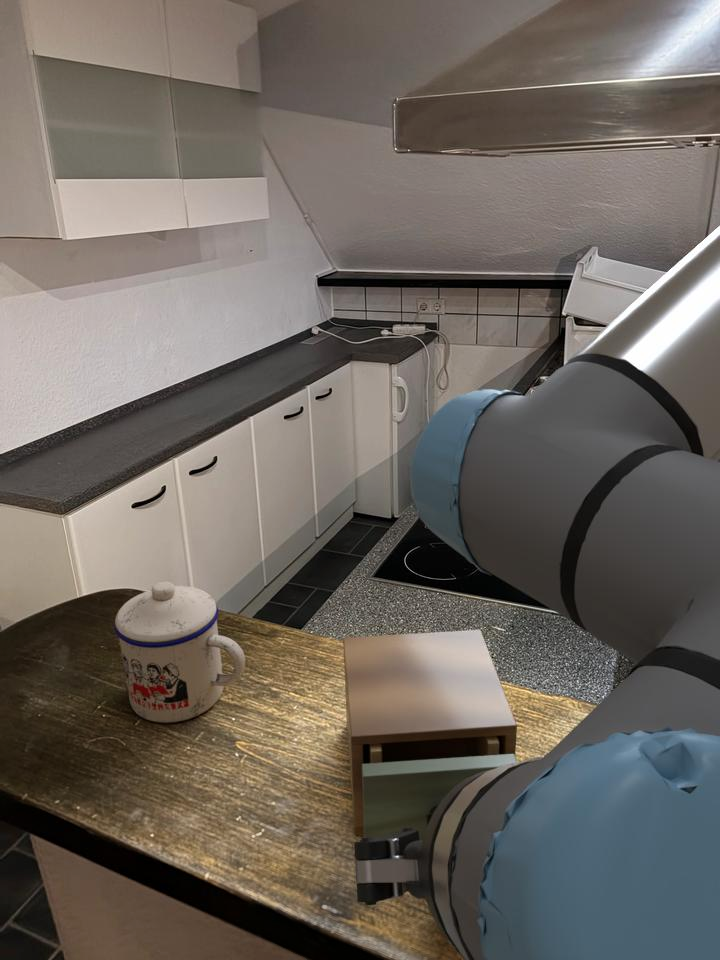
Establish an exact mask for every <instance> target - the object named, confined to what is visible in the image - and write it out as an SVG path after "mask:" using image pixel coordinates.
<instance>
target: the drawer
mask: <svg viewBox="0 0 720 960" xmlns="http://www.w3.org/2000/svg"><path fill="white" fill-rule="evenodd" d="M364 746H365V756H366V764H362V792H363V822H364V835H363V838H366V837H372V839H376V838H379V837H382V836H385V835H389V834H392V833H395V832H399V831H402V830H403V828H412V829H414V830H419V839H423V836H424V835H425V832H426V829H427V816H426V814H433V813H434V811H435V810H436V808H437V807H438V805H439V804H440V802H441V801H442V800H443V798H444V797H445V796H446V795H447V794H448V793H449V792H450V791H451V790H452V789H453V788H454V787H455V786H457V785H458V784H459V783H461V782H462V781H464V780H465V779H467V778H469V777H471V776H473V775H476V774H478V773H481V772H484V771H488V770H492V769H496V768H498V767H501V766H503V765H506V764H511V763H515V762H518V761H517V757H516V754H515V755H514V754H502V755H499V741H498V738H497V736H483V737H468V738H453V739H437V740H422V741H407V742H392V743H377V744H364Z"/></svg>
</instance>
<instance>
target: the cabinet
mask: <svg viewBox="0 0 720 960" xmlns="http://www.w3.org/2000/svg"><path fill="white" fill-rule="evenodd" d="M342 641H343V643H342V644H343V664H344V665H343V667H344V690H345V691H344V692H345V715H346V716H345V717H346V718H345V719H346V732H347V733H346V735H347V747H348V762H349V774H350V775H349V776H350V791H351V803H352V816H353V817H352V818H353V829H354V836H356V837H357V836H364V822H363V792H362V764H366V756H365V746H364V744H377V743H392V742H407V741H422V740H437V739H453V738H468V737H483V736H497V738H498V741H499V755H502V754H514V755H515V756H516V751H517V733H518V724H517V722H516V718H515V716H514V714H513V710H512V709H511V705H510V703H509V701H508V698H507V695H506V693H505V690H504V688H503V684H502V682H501V679H500V677H499V674H498V671H497V669H496V666H495V664H494V661H493V658H492V656H491V654H490V651H489V649H488V648H489V647H488V645H487V642H486V639H485V638H484V635H483V632H482V630H481V629H467V630H452V631H451V630H449V631H434V632H433V631H431V632H417V633H401V634H399V633H398V634H383V635H365V636H350V637H343V639H342Z"/></svg>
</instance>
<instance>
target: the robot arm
mask: <svg viewBox="0 0 720 960" xmlns="http://www.w3.org/2000/svg"><path fill="white" fill-rule="evenodd" d="M719 460H720V225H719V226H718V227H717V228H716V229H715V230H714V231H712V232H711V233H710V234H709V235H708V236H706V238H705V239H704V240H703V241H701V242H700V243H699V244H697V246H696V247H695V248H693V249H692V250H691V251H690V252H689V253H688V254H687V255H685V256H684V257H683V258H682V259H681V260H679V261H678V262H677V263H676V264H675V265H674V266H673V267H672V268H671V269H669V270H668V271H667V272H666V273H665V274H664V275H662V276H661V277H660V278H659V279H658V280H657V281H656V282H655V283H654V284H653V285H652V286H650V287H649V288H648V289H647V290H646V291H644V292H643V293H642V294H641V295H640V296H639V297H638V298H637V299H635V301H633V302H632V303H631V304H630V305H629V306H628V307H627V308H625V310H623V311H622V312H621V313H620V314H619V315H617V317H615V318H614V319H613V320H612V321H611V322H609V324H608V325H606V326H605V327H604V328H602V330H601V331H600V332H598V333H597V334H596V335H595V336H594V337H593V338H591V340H589V341H588V342H586V344H585V345H583V346H582V347H581V348H580V349H579V350H578V351H577V352H576V353H575V354H573V355H572V356H571V357H570V358H568V359H567V362H566V363H565V364H564V365H563V366H561V367H559V368H558V369H556V370H555V371H554V372H553V373H552V374H551V375H550V376H549V377H547V378H546V379H545V380H544V381H543V382H542V383H541V384H540V385H539V386H537V387H536V388H535V389H534V390H533V391H531V393H529V394H528V395H525V396H524V395H523V392H518V391H515V390H508V389H503V390H498V389H492V388H490V389H489V388H486V389H476V390H473V391H469V392H466V393H464V394H459V395H457V396H455V397H453V398H452V399H450V400H449V401H447V402H446V403H445V404H443V405H442V406H441V407H440V408H439V409H438V410H437V411H436V412H435V413H434V414H433V416H432V417H431V418H430V419H429V420H428V422H427V424H426V425H425V426H424V429H423V431H422V433H421V434H420V436H419V438H418V440H417V443H416V444H415V447H414V450H413V454H412V458H411V463H410V471H409V472H410V474H409V480H410V482H409V486H410V494H411V498H412V502H413V505H414V506H415V508H416V510H417V514H418V515H417V517H418V519H419V520H421V521H422V523H423V524H424V525H425V526H426V527H427V529H428V530H429V531H431V532H432V534H434V535H435V536H437V537H438V539H440V540H441V541H443V542H444V543H445V544H447V545H448V546H449V547H451V548H452V549H453V550H455V551H456V552H457V553H458V554H460V555H461V556H462V557H464V558H465V559H466V560H467V562H469V563H470V564H473V566H474V567H476V569H477V570H478V571H480V573H483V574H486V575H489V576H494V577H496V578H498V579H500V580H501V581H503V582H505V583H506V584H508V585H510V586H511V587H513V588H515V589H516V590H518V591H520V592H522V593H523V594H525V595H527V596H529V597H530V598H532V599H533V600H535V601H537V602H538V603H540V604H542V605H543V606H545V607H546V608H548V609H550V610H552V611H554V612H555V613H557V614H559V615H561V616H562V617H563V618H566V619H567V620H569V621H570V622H572V623H574V624H575V625H576V626H577V627H579V628H580V629H582V630H583V631H585V632H586V633H587V634H589V635H590V636H591V637H593V638H595V639H597V640H598V641H600V642H602V643H603V644H605V645H606V646H608V647H610V648H611V649H612V650H614V651H616V652H617V653H618V654H621V655H622V656H623V657H625V658H627V659H629V660H630V661H632V662H633V663H635V665H634V666H633V667H632V668H631V669H630V671H629V673H628V674H627V676H626V678H625V679H624V680H623V681H621V682H620V683H619V684H618V685H617V686H616V687H615V688H614V689H613V690H611V692H610V693H609V694H607V696H606V697H604V699H602V701H600V702H599V703H598V704H597V705H596V707H594V708H593V709H592V710H591V711H590V712H589V713H588V714H587V715H586V716H585V717H584V718H583V719H582V720H581V721H579V723H578V724H576V726H575V727H574V728H573V729H572V730H570V731H569V733H568V734H566V735H565V736H564V737H563V738H562V739H561V741H559V742H558V743H557V744H556V745H555V746H554V747H552V748H551V750H549V751H548V752H547V753H546V754H545V755H544V756H540V757H533V758H529V759H525V760H519V761H517V762H515V763H511V764H506V765H503V766H501V767H498V768H496V769H492V770H488V771H484V772H481V773H478V774H476V775H473V776H471V777H469V778H467V779H465V780H464V781H462V782H461V783H459V784H458V785H457V786H455V787H454V788H453V789H452V790H451V791H450V792H449V793H448V794H447V795H446V796H445V797H444V798H443V800H442V801H441V802H440V804H439V805H438V807H437V808H436V810H435V811H434V813H433V814H426V816H427V829H426V832H425V835H424V836H423V839H419V830H414V829H412V828H403V830H402V831H399V832H395V833H392V834H389V835H385V836H382V837H379V838H376V839H372V837H366V838H364V837H361V838H360V840H358V841H357V840H356V841H353V850H354V868H355V869H354V871H355V884H356V900H357V903H362V904H363V903H364V905H365V906H376V905H377V903H378V902H383V901H387V900H389V899H401V898H403V897H404V894H406V893H407V892H408V893H409V895H411V896H412V897H413V898H416V899H418V900H419V899H420V900H425V902H426V904H427V907H428V910H429V912H430V913H431V917H432V918H433V920H434V921H435V923H436V925H437V926H438V928H439V930H440V931H441V932H442V934H443V935H444V937H445V938H446V939H447V941H448V942H449V943H450V944H451V945H452V946H453V948H454V949H455V950H456V951H457V952H458V954H459V955H460V956H461V957H462V958H463V959H464V960H720V461H719Z"/></svg>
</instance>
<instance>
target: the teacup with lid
mask: <svg viewBox="0 0 720 960" xmlns="http://www.w3.org/2000/svg"><path fill="white" fill-rule="evenodd" d="M218 616H219V608H218V605H217V603H216V600H215V599H214V598H213V597H212V595H210V593H208V592H207V591H204V590H202V589H199V588H197V587H192V586H186V585H175V584H173V583H172V582H170V581H167V580H165V581H159V582H157V583H155V584H154V585H152V587H151V589H149V590H145V591H143V592H142V593H139V594H137V595H136V596H134V597H132V598H130V599H129V600H128V601H126V602H125V603H124V604H123V605H122V606H121V607H120V608H119V610H118V611H117V613H116V615H115V620H114V625H113V627H114V628H113V629H114V632H115V634H116V636H117V637H118V639H119V646H120V652H121V657H122V663H123V668H124V669H123V670H124V675H125V682H126V687H127V693H128V699H129V704H130V705H131V706H130V707H131V709H132V710H133V711H134V712H135V713H136V714H137V716H139V717H141V718H143V719H144V720H148V721H151V722H155V723H164V724H165V723H178V722H183V721H186V720H190V719H192V718H195V717H198V716H199V715H201V714H203V713H205V712H206V711H208V710H209V709H211V708H213V706H214V705H215V704H216V703H217V702H218V701H219V699H220V698H221V696H222V694H223V692H224V687H229V686H233V685H234V684H235V683H237V682H238V680H239V679H240V678H241V677H242V675H243V674H244V672H245V668H246V656H245V653H244V651H243V649H242V647H241V646H240V645H239V644H238V643H237V641H235V640H233V639H232V638H230V637H227V636H224V635H220V634H219V629H218V620H217V619H218ZM221 650H223V651H225V652H226V653H227V654H228V655H229V656H230V657H231V659H232V662H233V673H230V674H229V673H228V674H226V673H225V674H224V673H223V664H222V656H221V655H222V654H221Z"/></svg>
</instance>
